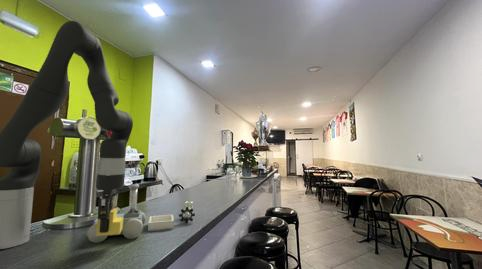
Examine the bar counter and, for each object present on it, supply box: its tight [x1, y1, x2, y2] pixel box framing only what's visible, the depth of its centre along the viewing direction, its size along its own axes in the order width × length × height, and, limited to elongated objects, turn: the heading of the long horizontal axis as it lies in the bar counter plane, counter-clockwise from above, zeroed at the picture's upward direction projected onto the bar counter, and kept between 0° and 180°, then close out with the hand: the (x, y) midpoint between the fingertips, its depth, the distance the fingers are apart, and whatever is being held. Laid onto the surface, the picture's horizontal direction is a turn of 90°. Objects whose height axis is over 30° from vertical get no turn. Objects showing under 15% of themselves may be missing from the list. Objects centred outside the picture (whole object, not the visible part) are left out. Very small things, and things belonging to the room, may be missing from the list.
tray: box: [147, 214, 175, 232], centre depth 85 cm, size 9×9×3 cm
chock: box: [96, 207, 123, 236], centre depth 66 cm, size 6×5×6 cm
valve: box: [178, 200, 196, 224], centre depth 95 cm, size 7×7×12 cm
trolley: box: [86, 209, 146, 244], centre depth 77 cm, size 16×13×7 cm
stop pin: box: [128, 183, 140, 214], centre depth 79 cm, size 3×3×11 cm
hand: (106, 228), depth 66 cm, fingers closed on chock, 5 cm apart
